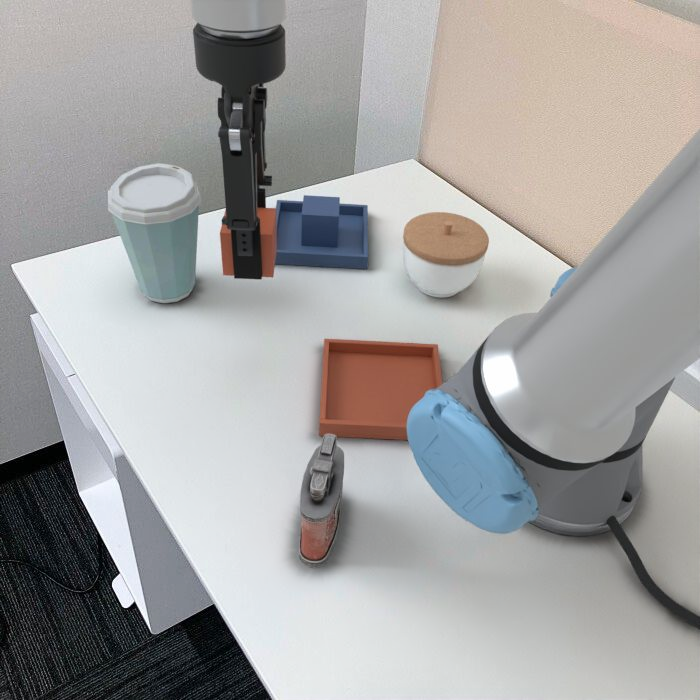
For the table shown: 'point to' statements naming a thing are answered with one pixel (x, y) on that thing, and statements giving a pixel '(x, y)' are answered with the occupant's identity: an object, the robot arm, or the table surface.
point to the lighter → (321, 502)
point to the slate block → (320, 221)
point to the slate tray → (343, 256)
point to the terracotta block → (267, 243)
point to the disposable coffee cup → (158, 228)
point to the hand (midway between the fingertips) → (251, 260)
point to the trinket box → (443, 252)
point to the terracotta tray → (374, 386)
